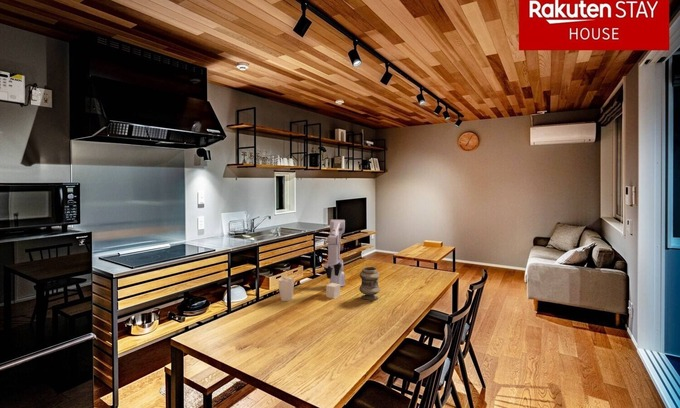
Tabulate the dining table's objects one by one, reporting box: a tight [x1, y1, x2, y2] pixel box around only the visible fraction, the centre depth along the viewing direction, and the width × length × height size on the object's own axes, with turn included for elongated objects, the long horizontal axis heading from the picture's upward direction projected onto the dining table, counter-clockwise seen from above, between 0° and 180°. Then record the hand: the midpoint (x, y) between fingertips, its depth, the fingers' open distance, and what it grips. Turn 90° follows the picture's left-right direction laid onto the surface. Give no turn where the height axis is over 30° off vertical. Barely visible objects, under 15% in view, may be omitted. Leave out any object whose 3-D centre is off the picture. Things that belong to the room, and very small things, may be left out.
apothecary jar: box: [358, 266, 381, 302], centre depth 204 cm, size 12×12×18 cm
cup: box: [278, 276, 295, 302], centre depth 203 cm, size 9×9×12 cm
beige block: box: [325, 282, 341, 299], centre depth 208 cm, size 6×6×7 cm
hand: (332, 277), depth 214 cm, fingers open, 7 cm apart
